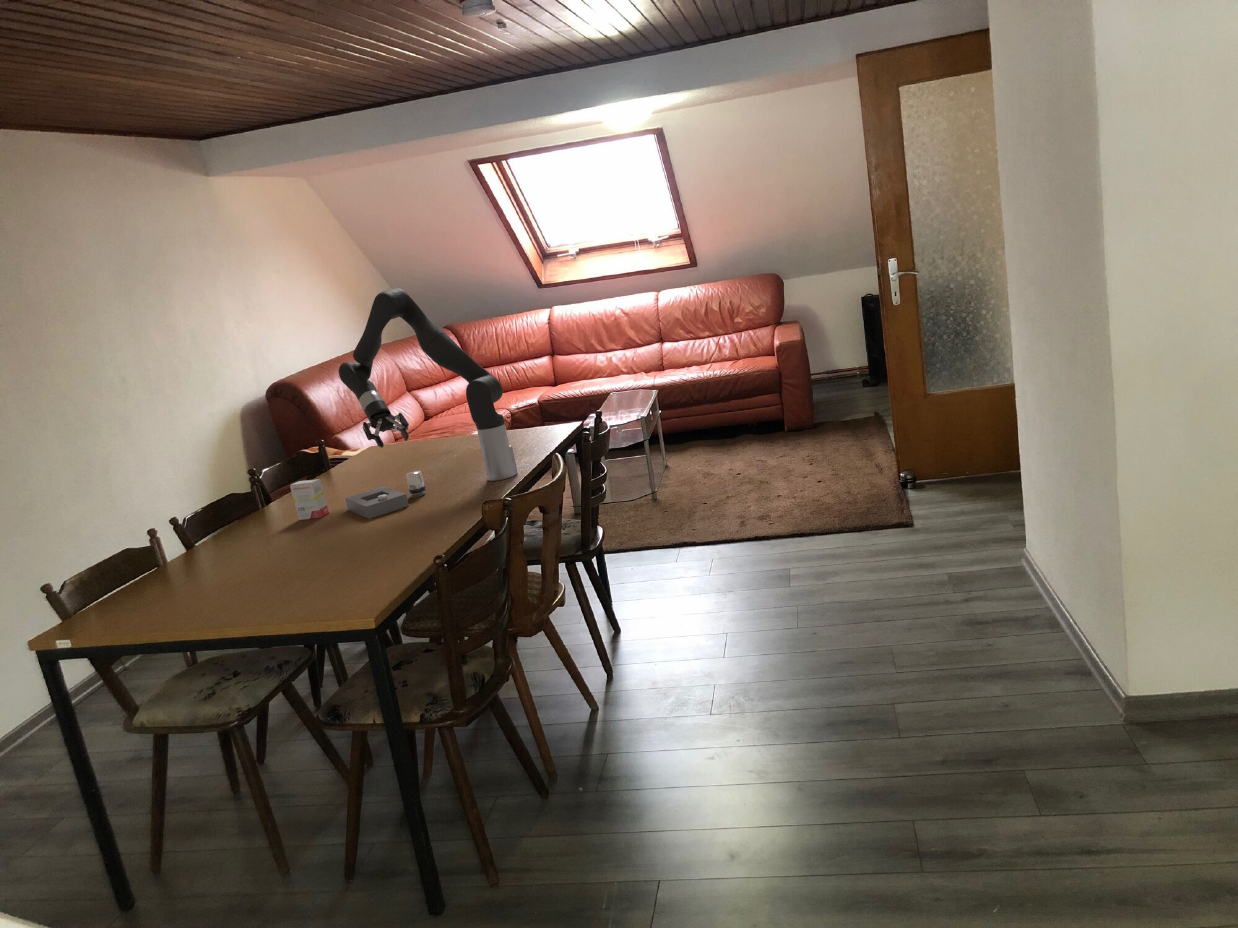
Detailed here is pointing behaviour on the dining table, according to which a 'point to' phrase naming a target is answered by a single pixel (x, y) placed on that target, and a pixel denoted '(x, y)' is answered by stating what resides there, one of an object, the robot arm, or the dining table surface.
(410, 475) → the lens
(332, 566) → the dining table surface
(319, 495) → the ink box
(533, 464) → the dining table surface
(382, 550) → the dining table surface
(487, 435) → the robot arm
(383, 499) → the grey slotted tray
